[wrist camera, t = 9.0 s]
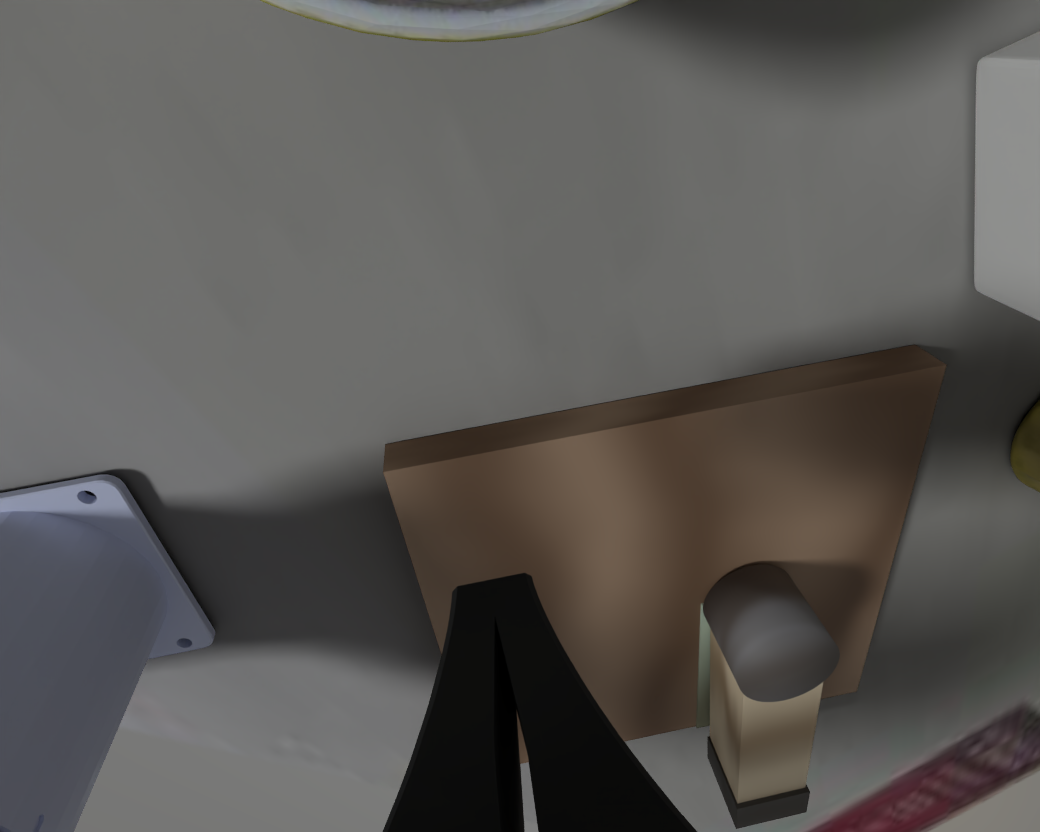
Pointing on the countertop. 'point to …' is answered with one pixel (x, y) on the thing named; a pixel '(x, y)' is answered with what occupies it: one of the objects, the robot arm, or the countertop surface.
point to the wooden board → (677, 517)
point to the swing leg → (764, 691)
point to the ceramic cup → (450, 16)
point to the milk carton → (1008, 176)
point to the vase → (1027, 449)
